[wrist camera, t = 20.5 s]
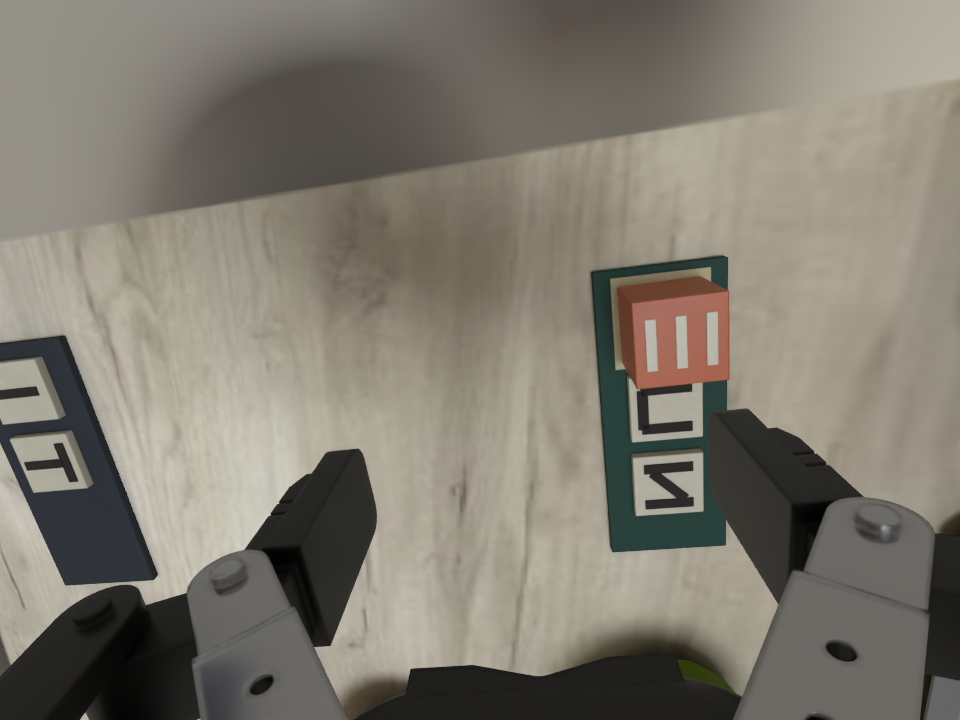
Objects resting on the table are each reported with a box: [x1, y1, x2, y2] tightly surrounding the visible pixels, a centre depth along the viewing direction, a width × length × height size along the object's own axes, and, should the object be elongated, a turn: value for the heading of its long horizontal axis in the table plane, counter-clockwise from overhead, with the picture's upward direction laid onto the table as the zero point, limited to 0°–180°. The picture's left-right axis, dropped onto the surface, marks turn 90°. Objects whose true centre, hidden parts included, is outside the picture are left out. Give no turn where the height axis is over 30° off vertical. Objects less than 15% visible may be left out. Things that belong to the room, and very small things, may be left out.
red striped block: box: [617, 276, 729, 389], centre depth 27 cm, size 4×4×4 cm
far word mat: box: [0, 336, 157, 585], centre depth 35 cm, size 18×7×1 cm, turn 8°
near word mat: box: [592, 256, 728, 552], centre depth 31 cm, size 18×7×1 cm, turn 8°
